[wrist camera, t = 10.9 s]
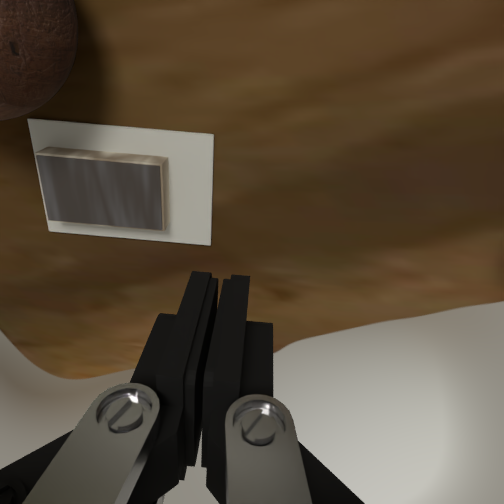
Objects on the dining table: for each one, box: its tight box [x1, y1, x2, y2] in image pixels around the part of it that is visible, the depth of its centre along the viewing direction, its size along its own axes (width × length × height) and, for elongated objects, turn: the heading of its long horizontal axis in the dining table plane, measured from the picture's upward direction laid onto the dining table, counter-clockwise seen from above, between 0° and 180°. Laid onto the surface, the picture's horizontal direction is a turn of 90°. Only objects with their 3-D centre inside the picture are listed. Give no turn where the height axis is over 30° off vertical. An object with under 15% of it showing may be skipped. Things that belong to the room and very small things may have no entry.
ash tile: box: [35, 147, 170, 231], centre depth 39 cm, size 3×7×12 cm
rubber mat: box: [27, 118, 214, 245], centre depth 40 cm, size 18×12×1 cm, turn 86°
